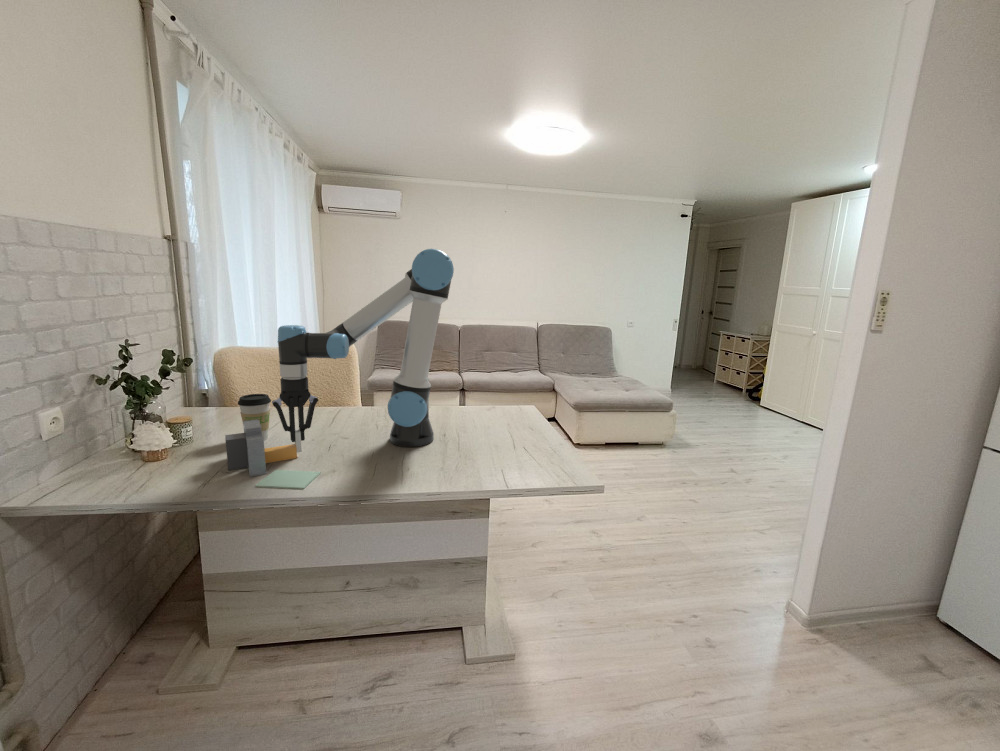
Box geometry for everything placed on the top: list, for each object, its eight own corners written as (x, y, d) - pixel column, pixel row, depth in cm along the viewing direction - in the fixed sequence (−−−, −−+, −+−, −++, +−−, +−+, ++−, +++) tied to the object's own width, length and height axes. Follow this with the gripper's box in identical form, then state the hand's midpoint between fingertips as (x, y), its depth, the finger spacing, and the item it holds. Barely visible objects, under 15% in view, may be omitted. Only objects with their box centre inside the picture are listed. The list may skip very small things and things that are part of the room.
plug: (295, 453, 136) (293, 426, 134) (297, 458, 132) (295, 431, 130) (228, 464, 126) (225, 435, 124) (228, 470, 122) (225, 440, 120)
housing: (260, 450, 137) (257, 414, 135) (266, 473, 121) (263, 433, 118) (245, 452, 135) (242, 416, 133) (249, 476, 119) (246, 435, 116)
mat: (320, 473, 122) (320, 471, 122) (303, 489, 112) (303, 487, 112) (275, 471, 123) (275, 469, 123) (255, 486, 113) (255, 485, 113)
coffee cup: (259, 445, 142) (256, 401, 139) (233, 442, 143) (229, 399, 140) (280, 435, 151) (277, 394, 148) (255, 433, 153) (252, 392, 150)
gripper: (315, 373, 136) (318, 443, 141) (268, 376, 129) (273, 450, 134) (319, 377, 130) (322, 451, 134) (271, 381, 123) (276, 458, 127)
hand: (298, 450), depth 134 cm, fingers closed
